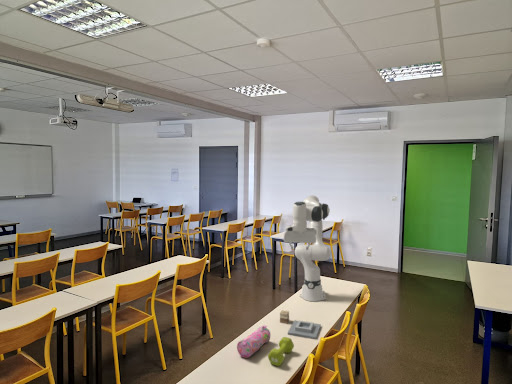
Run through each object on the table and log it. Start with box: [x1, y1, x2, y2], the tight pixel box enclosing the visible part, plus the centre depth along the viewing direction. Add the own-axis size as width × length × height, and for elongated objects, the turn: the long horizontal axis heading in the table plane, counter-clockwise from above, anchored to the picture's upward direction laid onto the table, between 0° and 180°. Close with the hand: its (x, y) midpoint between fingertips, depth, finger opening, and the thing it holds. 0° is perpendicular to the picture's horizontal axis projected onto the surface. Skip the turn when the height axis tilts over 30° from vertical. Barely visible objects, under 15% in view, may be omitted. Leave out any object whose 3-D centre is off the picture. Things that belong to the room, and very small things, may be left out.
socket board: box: [287, 320, 322, 340], centre depth 189 cm, size 16×16×3 cm
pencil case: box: [236, 324, 271, 359], centre depth 169 cm, size 21×9×9 cm, turn 146°
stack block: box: [279, 309, 290, 325], centre depth 200 cm, size 4×4×6 cm
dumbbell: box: [267, 336, 295, 367], centre depth 161 cm, size 16×8×7 cm, turn 151°
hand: (299, 249), depth 205 cm, fingers open, 8 cm apart
